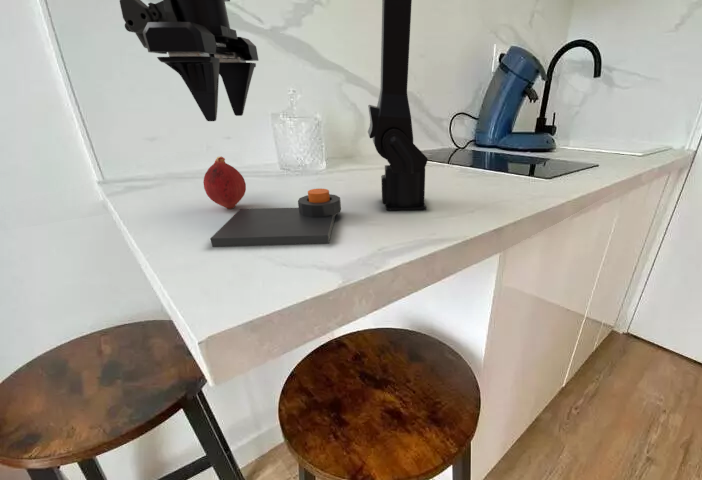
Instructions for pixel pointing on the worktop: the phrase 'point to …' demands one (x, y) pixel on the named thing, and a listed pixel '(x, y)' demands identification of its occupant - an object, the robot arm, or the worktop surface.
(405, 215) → the worktop surface
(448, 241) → the worktop surface
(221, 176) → the onion
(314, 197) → the button
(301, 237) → the scale
